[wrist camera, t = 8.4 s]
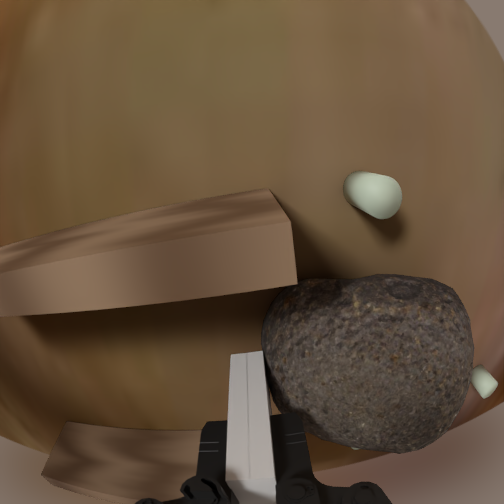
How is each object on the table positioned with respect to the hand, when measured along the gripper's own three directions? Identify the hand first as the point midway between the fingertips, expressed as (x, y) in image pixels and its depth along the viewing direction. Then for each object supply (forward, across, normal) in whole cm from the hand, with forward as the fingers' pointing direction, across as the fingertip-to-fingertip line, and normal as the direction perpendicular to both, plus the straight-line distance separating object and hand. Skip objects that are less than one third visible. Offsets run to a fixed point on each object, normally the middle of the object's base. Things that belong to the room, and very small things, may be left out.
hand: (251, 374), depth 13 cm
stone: (+2, +6, 0) cm, 6 cm away
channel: (+2, -7, 0) cm, 7 cm away
